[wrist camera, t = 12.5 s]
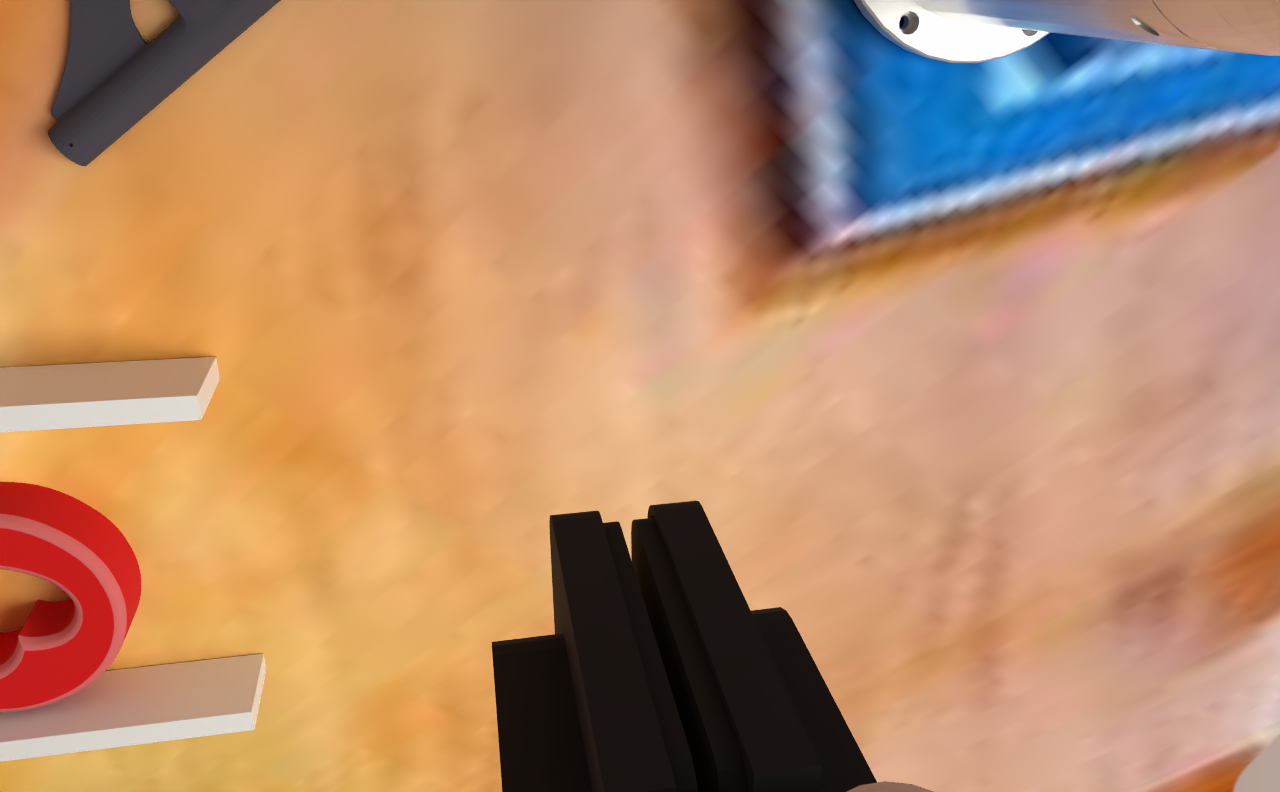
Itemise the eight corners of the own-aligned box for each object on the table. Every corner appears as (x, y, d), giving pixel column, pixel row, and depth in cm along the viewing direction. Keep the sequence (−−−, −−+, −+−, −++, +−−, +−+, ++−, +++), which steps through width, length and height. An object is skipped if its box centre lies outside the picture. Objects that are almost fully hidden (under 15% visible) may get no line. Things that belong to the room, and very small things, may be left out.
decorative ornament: (-39, 438, 39) (-74, 475, 36) (185, 548, 43) (169, 589, 40) (-154, 608, 41) (-196, 656, 38) (71, 699, 45) (48, 748, 42)
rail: (216, 356, 40) (197, 395, 36) (266, 670, 46) (254, 729, 43) (-239, 379, 37) (-309, 424, 33) (-117, 714, 43) (-164, 782, 39)
